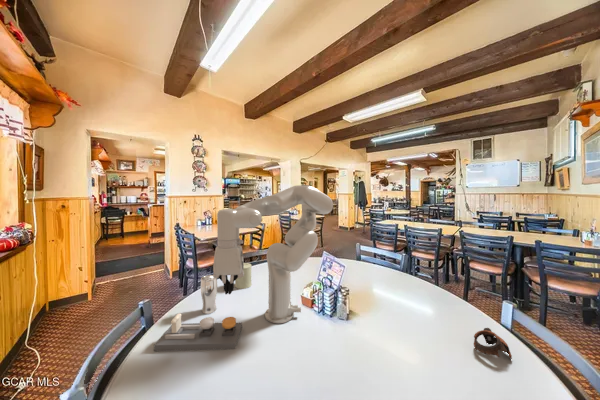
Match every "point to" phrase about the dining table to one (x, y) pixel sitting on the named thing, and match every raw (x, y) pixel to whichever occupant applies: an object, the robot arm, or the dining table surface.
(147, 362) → the dining table surface
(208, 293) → the tall white cup
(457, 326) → the dining table surface
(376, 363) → the dining table surface
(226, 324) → the orange button
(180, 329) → the lever
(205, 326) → the white rounded thick disc
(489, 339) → the brown looped piece
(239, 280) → the can
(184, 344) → the panel
